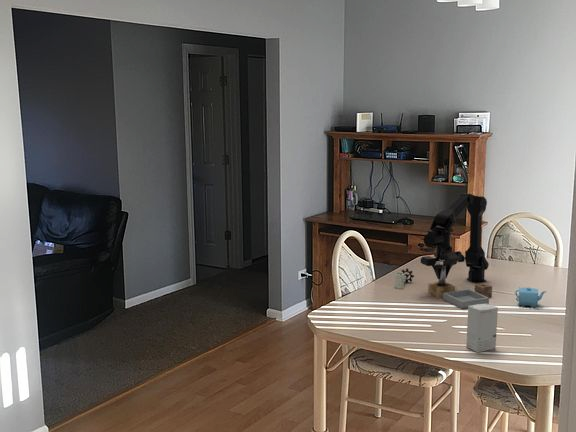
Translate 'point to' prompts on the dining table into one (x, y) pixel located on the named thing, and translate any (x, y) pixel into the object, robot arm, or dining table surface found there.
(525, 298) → the teapot
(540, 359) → the dining table surface
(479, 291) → the walnut block
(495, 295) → the dining table surface
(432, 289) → the oak block
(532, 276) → the dining table surface
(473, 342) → the skincare box
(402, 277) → the valve
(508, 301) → the dining table surface
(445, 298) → the tray
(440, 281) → the gauge pin
